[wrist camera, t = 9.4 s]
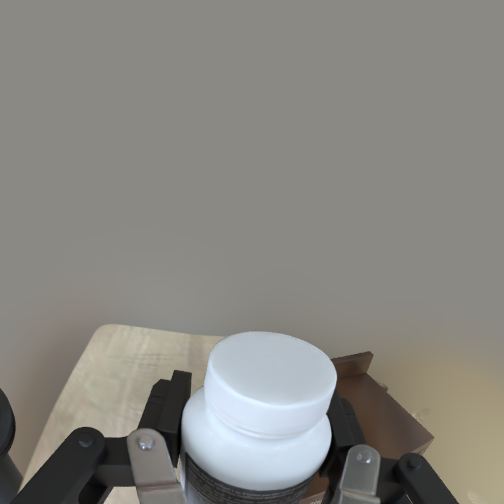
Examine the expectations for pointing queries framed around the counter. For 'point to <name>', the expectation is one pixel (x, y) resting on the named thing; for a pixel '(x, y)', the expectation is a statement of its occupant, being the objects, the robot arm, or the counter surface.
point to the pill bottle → (257, 421)
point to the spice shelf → (373, 417)
